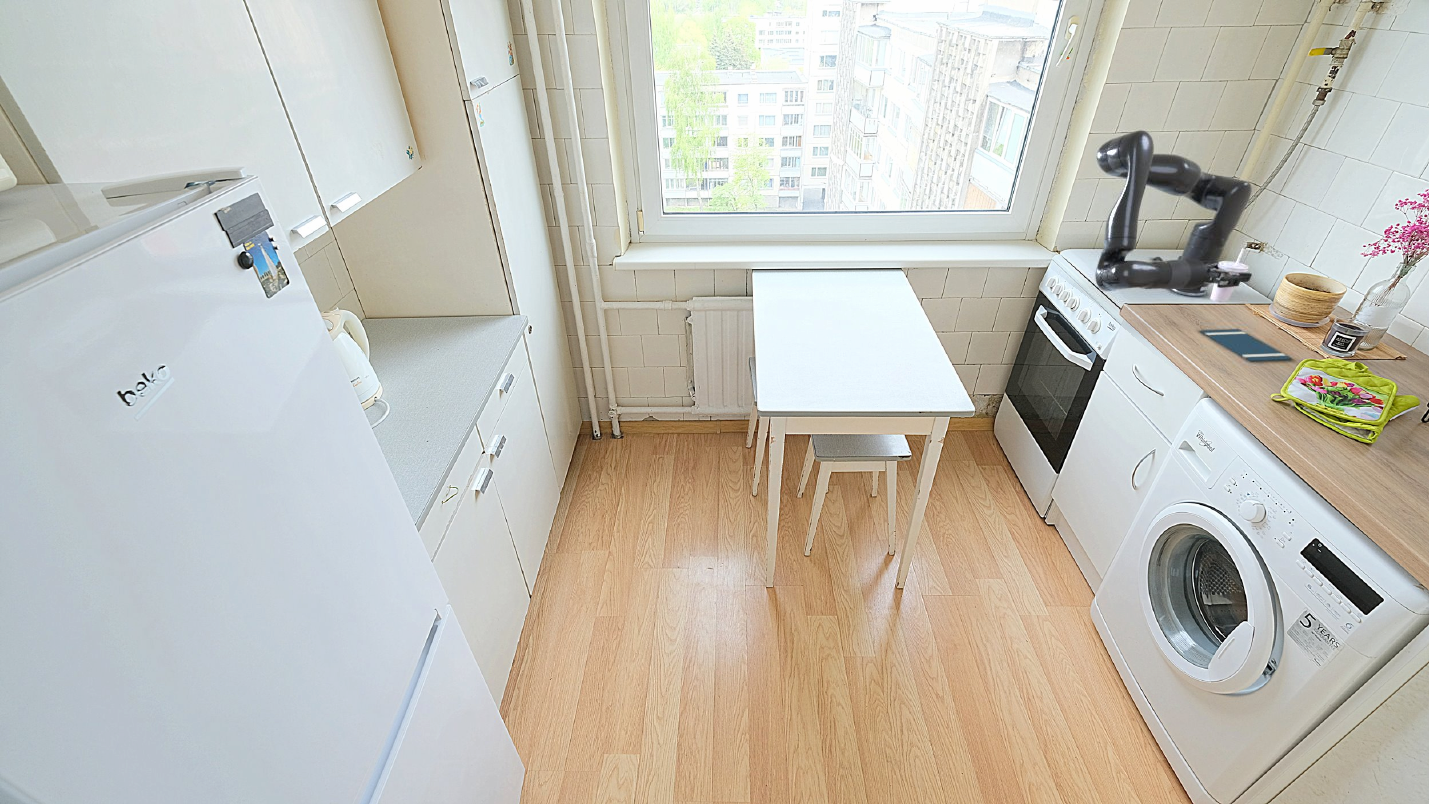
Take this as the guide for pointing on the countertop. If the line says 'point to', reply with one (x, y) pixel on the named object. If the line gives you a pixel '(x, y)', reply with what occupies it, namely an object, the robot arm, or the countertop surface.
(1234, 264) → the smoothie
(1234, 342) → the tea towel
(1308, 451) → the countertop surface
